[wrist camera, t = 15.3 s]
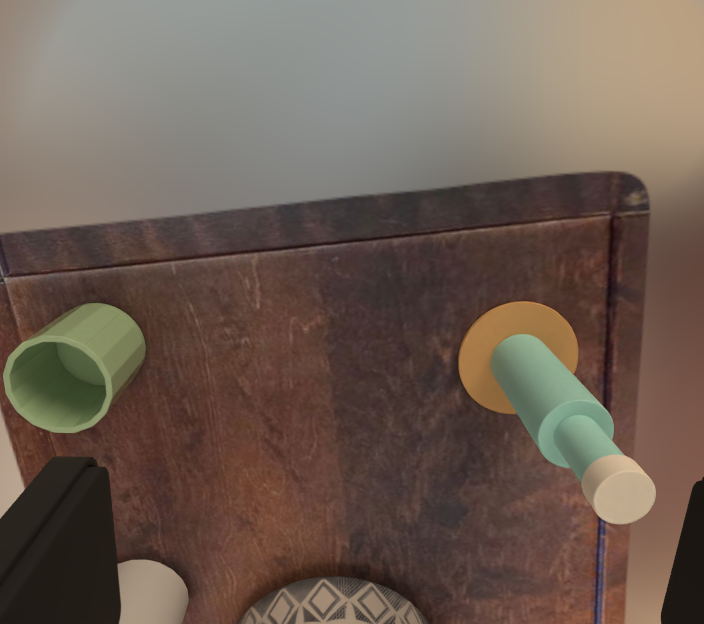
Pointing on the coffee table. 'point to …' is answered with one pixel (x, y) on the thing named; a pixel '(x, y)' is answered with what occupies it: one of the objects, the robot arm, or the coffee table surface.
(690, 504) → the robot arm
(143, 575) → the can
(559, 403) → the bottle
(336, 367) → the coffee table surface
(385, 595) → the planter
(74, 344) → the holder
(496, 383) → the coaster
